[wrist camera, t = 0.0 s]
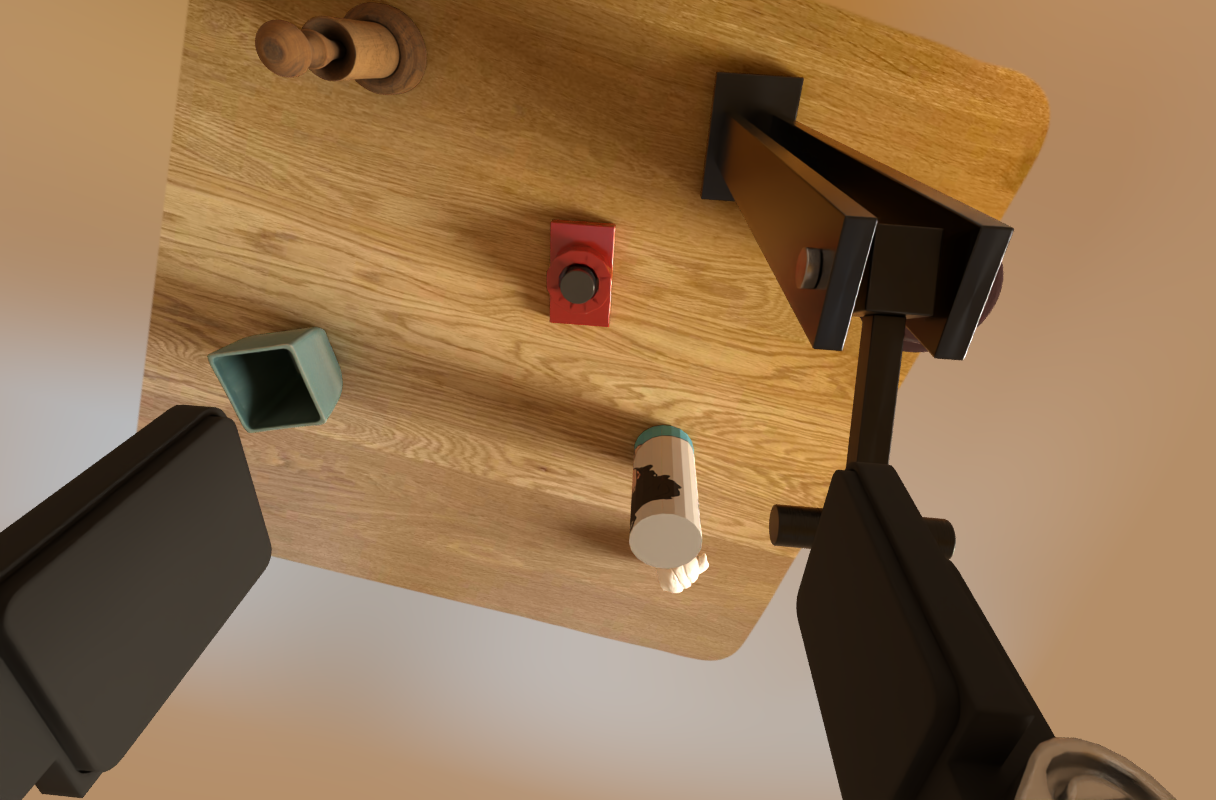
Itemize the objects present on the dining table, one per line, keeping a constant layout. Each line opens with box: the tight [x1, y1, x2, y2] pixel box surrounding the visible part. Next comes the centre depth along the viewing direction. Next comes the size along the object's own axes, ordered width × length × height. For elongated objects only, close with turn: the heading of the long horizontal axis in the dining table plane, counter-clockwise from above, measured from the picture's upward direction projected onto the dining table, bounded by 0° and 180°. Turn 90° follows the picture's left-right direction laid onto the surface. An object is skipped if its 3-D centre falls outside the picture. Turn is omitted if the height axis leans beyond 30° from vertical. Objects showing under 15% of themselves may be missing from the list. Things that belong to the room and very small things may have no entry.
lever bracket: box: [700, 72, 1014, 360], centre depth 36 cm, size 10×7×39 cm
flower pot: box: [207, 327, 343, 433], centre depth 62 cm, size 9×9×9 cm
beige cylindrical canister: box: [629, 425, 702, 569], centre depth 63 cm, size 7×7×15 cm
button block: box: [547, 219, 616, 327], centre depth 58 cm, size 10×6×3 cm, turn 177°
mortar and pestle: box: [255, 3, 427, 95], centre depth 44 cm, size 7×6×18 cm
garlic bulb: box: [656, 553, 709, 593], centre depth 74 cm, size 6×6×5 cm
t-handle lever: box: [769, 224, 956, 560], centre depth 21 cm, size 11×6×2 cm, turn 177°
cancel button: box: [560, 265, 596, 304], centre depth 57 cm, size 3×3×2 cm
